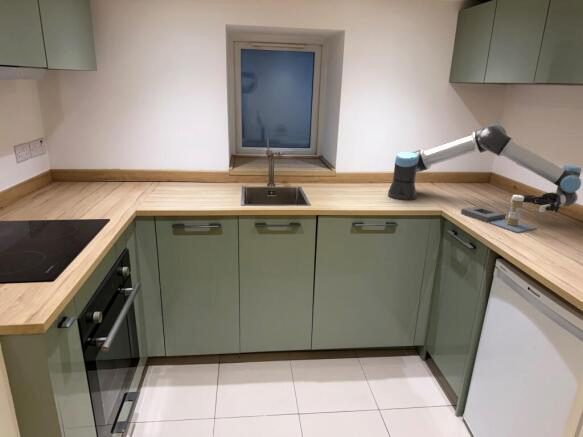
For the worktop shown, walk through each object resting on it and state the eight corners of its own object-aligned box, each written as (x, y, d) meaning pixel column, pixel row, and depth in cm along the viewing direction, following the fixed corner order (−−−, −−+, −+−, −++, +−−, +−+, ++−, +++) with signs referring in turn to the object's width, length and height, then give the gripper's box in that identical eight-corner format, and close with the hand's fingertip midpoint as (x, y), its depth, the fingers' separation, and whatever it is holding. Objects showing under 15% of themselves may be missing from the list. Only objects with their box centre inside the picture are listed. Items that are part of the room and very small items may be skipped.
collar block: (460, 213, 198) (461, 208, 197) (479, 210, 205) (480, 205, 204) (486, 222, 187) (487, 217, 186) (505, 218, 194) (506, 213, 193)
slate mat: (488, 223, 186) (488, 221, 186) (507, 219, 193) (507, 218, 193) (517, 233, 175) (517, 231, 174) (536, 229, 181) (536, 227, 181)
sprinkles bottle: (504, 222, 185) (510, 194, 181) (513, 223, 186) (520, 194, 182) (510, 226, 181) (517, 197, 177) (520, 226, 182) (526, 197, 177)
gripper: (578, 215, 183) (551, 221, 173) (525, 201, 204) (498, 205, 194) (582, 199, 181) (555, 204, 171) (528, 186, 201) (501, 189, 191)
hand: (525, 204), depth 182 cm, fingers open, 13 cm apart
